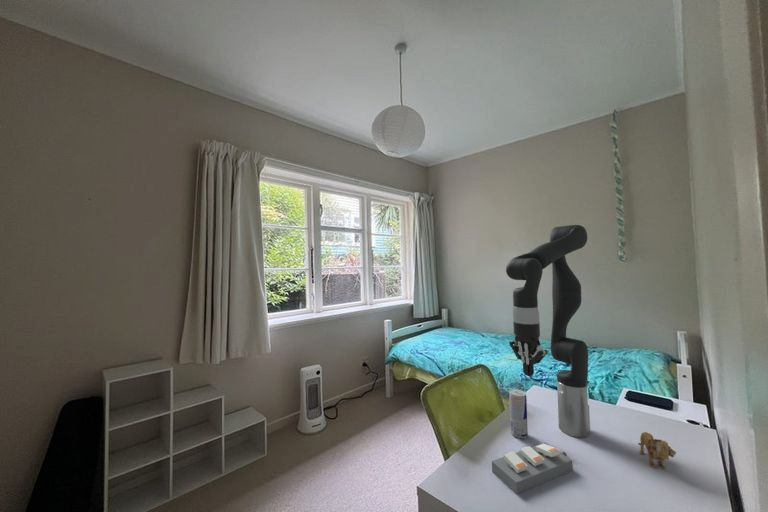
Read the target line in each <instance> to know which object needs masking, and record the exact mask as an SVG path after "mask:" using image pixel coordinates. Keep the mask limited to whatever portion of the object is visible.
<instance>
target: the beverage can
mask: <svg viewBox="0 0 768 512" xmlns="http://www.w3.org/2000/svg"><path fill="white" fill-rule="evenodd" d="M508 393H509V395H508V396H509V423H510V424H509V426H510V427H509V428H510V429H509V430H510V434H511V435H512V436H514V437H515V438H518V439H525V438H527V437H528V435H529V434H528V433H529V431H528V403H527V402H528V401H527V399H528V397H527V393H526V392H525V391H524V390H521V389H515V388H512V389H510V390H509V391H508Z"/></svg>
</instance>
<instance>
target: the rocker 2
mask: <svg viewBox="0 0 768 512" xmlns="http://www.w3.org/2000/svg"><path fill="white" fill-rule="evenodd" d="M540 444H541V445H540ZM540 444H537V445H538V446H537V445H535V446H536V451H538V452H541V453H543V455H544V456H550V457H553V456H556V455H559V454H560V453H561V451H560V449H559V448H556V447H553V446H552V445H549V444H548V443H546V444H543V443H540ZM547 444H548V445H547Z"/></svg>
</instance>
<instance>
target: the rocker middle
mask: <svg viewBox="0 0 768 512" xmlns="http://www.w3.org/2000/svg"><path fill="white" fill-rule="evenodd" d="M519 451H520V453H521V454H522V455H523V456H524V457H525V458H526V460H527V461H528V462H529V461H530V462H531V463H532V464H533V465H534V466H537V465H540V464H542V463H544V458H542V457H541V456H540V455H539V454H538V453H537V452H536V451H535V450H533V449H532V448H531V446H530V445H528V446H525V447H522V448H520V449H519Z"/></svg>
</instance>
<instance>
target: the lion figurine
mask: <svg viewBox="0 0 768 512" xmlns="http://www.w3.org/2000/svg"><path fill="white" fill-rule="evenodd" d="M637 444H638V446H640V450H639V454H640V455H643V456H644V455H645V448H646V450H647V454H648V455H647V456H648V460H649V464H648V467H650V468H653V469H654V468H655V461H654V458H655V460H657V465H658V466H659V468H660V469H666V466H665V465H663V462H664V461H665V460H669V459H670V458H674V457H675V456H676V454H677V452H676V450H674V449H672V448H671V446H669V443H668V442H667V441H666V440H663V439H658V438H657V439H656V438H654V436H653V435H652V434H651V433H649V432H648V431H643V432H641V434H640V442H638V443H637Z"/></svg>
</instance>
